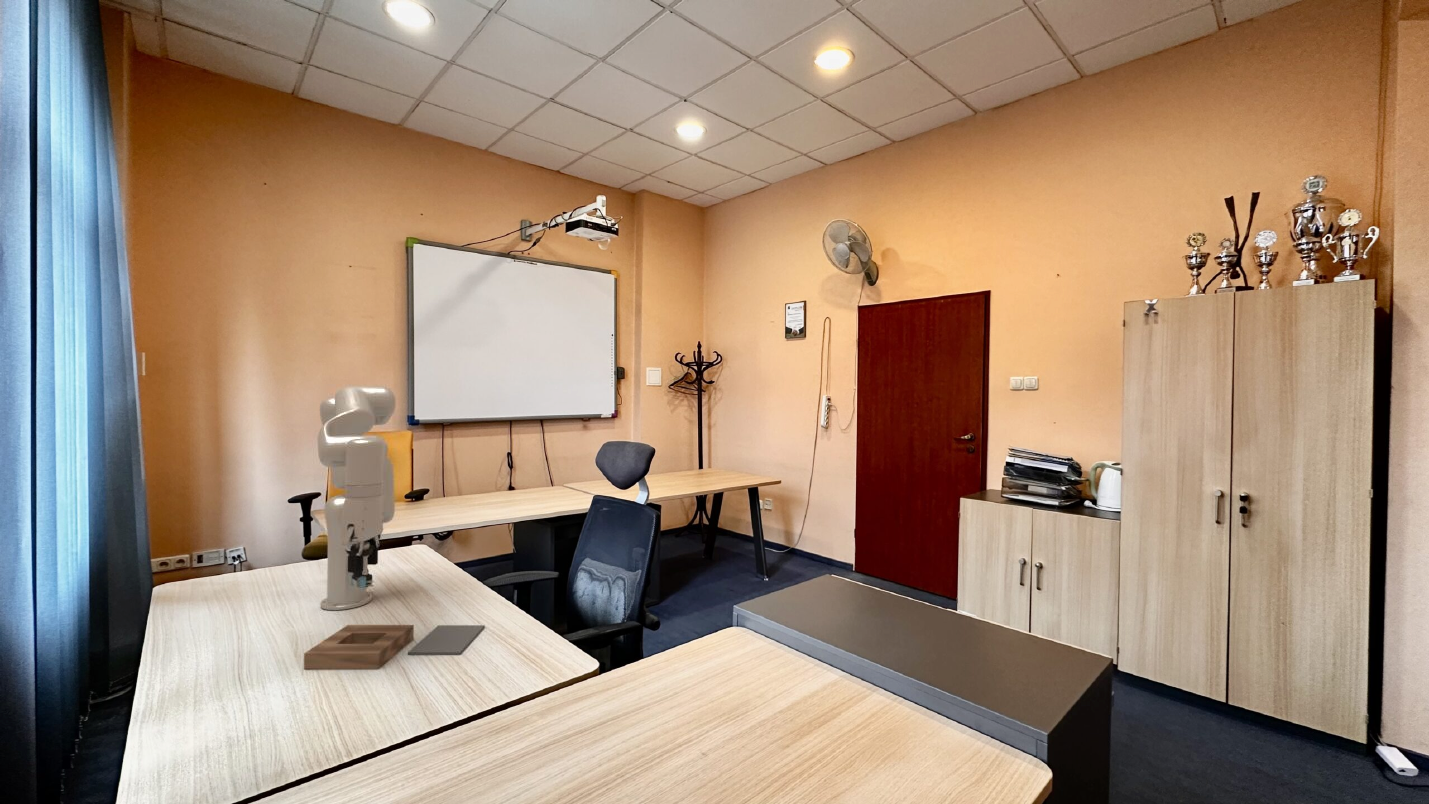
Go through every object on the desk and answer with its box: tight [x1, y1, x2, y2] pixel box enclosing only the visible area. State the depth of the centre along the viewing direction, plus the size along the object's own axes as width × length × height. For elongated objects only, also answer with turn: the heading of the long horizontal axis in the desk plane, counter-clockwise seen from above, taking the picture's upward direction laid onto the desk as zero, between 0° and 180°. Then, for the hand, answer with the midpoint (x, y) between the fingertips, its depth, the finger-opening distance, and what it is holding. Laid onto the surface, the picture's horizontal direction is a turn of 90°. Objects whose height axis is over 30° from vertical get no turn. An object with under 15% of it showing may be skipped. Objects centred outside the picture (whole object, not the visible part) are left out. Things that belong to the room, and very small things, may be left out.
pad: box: [407, 624, 486, 656], centre depth 142 cm, size 16×12×1 cm
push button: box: [351, 542, 375, 588], centre depth 134 cm, size 7×5×10 cm
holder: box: [303, 624, 415, 670], centre depth 134 cm, size 16×16×4 cm
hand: (363, 567), depth 134 cm, fingers closed on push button, 5 cm apart
